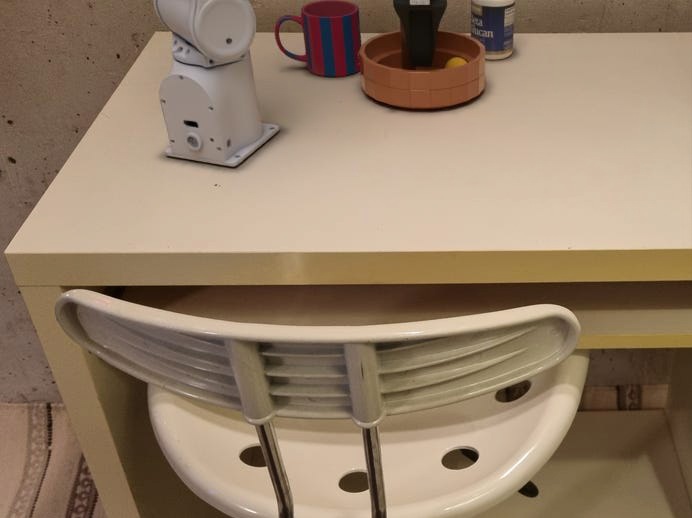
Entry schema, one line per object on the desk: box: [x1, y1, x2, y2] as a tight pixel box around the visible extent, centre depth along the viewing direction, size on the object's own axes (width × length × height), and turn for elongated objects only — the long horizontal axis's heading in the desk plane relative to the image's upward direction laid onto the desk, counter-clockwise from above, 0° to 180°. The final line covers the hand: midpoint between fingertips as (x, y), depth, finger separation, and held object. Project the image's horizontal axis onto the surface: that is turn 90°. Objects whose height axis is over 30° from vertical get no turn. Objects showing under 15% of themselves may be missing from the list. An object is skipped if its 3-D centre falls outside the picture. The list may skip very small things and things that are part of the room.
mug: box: [274, 0, 362, 78], centre depth 101 cm, size 7×10×7 cm
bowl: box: [359, 28, 486, 110], centre depth 97 cm, size 14×14×4 cm
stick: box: [399, 20, 416, 70], centre depth 95 cm, size 4×4×9 cm
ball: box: [444, 57, 467, 69], centre depth 97 cm, size 3×3×3 cm
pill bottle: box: [470, 0, 516, 61], centre depth 104 cm, size 5×5×10 cm
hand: (422, 53), depth 96 cm, fingers open, 7 cm apart
